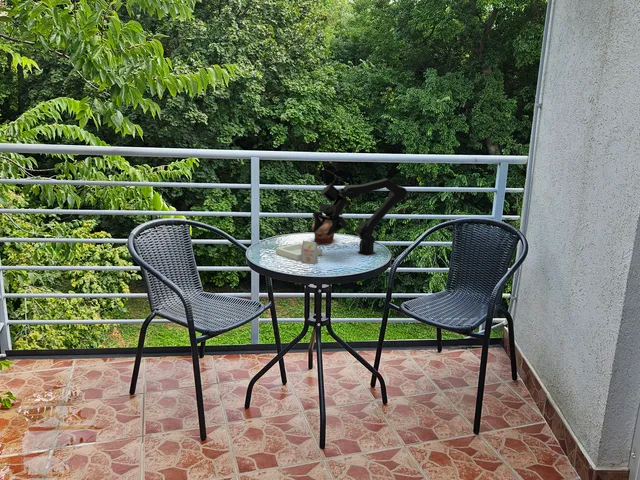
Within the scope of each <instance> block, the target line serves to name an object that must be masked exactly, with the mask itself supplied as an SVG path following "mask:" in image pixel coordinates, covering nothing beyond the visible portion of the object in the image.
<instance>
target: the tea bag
mask: <svg viewBox="0 0 640 480" xmlns="http://www.w3.org/2000/svg"><path fill="white" fill-rule="evenodd" d="M302 243H303V245H302V250H301V261H300V262H301V263H303V264H309V265H316V264H317V263H319V262H318V261H319V256H318V248H319V247H318V246H317V245H318V243H316V242H314V241H308V240H302Z"/></svg>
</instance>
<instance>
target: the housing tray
mask: <svg viewBox="0 0 640 480" xmlns="http://www.w3.org/2000/svg"><path fill="white" fill-rule="evenodd" d="M302 245H303V242H298V243H293V244H288V245H284V246H279V247H276V248H275V255H277V256H281V257H284V258H287V259H290V260H292V261H296V262H299V261H300V262H301V250H302ZM317 248H318V257H319V256H322V255H323V249H322V248H320V247H317Z"/></svg>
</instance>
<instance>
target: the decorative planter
mask: <svg viewBox="0 0 640 480" xmlns="http://www.w3.org/2000/svg"><path fill="white" fill-rule="evenodd" d="M323 215H324V216H325V214H323ZM313 219H314V220H313V224H312V225H311V230H312V231H313V229H314V225H315V218H314V217H313ZM331 226H332V222H331V221H327V220H325V222H323V225H322V226H321V227H320V228H319V229H318V230H317V231H316V232H313V233H314V239H313V242H316V243H317V244H321V245H329V244H332V243H333V241H334V237H335V233H336V232H334V233H333V234H331V235H329V236H327V233H328V231H329V229H330V227H331Z"/></svg>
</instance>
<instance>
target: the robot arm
mask: <svg viewBox="0 0 640 480" xmlns="http://www.w3.org/2000/svg"><path fill="white" fill-rule="evenodd" d="M381 189H387V190H388V191H389V193H388V196H387V198H386V200H385V201H384V202H383V203H382V204H381V205H380V206H379V208H377V210H376V211H375V212H374V213H373V214H372V215H371V217H370V218H369V219H368V220H366V221H364V220H361V221H360V223H359V224H358V225H357V226H356V227H357V228H356V229H355V234H356V235H357V236H358V237H359V246H358V247H359V248H358V249H359V251H357V253H358V254H361V255H365V256H370V255H372V254H373V255H374V254H376V251H374V246H375V245H374V243H375V241H376V238H375V237H374V236H373V235H372V234H373V233H374V231H375V228H376V227H377V225H378V224H379V223H380V222H381V221H382V219H383V218H384V217H385V216H386V215H387V214H388V213H389V211H391V210H392V208H393V207H394V206H395V205H396V204H398V203H400V202H401V201H403V200H404V199H406V197H407V196H408V190H407V189H406V187H403V186H401V185H397V184H395V183H394V182H392V181H391V180H390V179H389V178H382V179H379V180H375V181H370V182H367V183H363V184H350V185H349V184H348V185H345V186H344V187H343V188H339V189H337V188H336V187H335V186H334V185H333V184H332V183H329V184H328V185H327V186H326V187H324V188H323V189H322V190H321V192H320V193H321V195H322V196H323V197H324V198H326V200H327V201H329V202H332V204H331V203H330V204H326V203H320V206H319V208H318V210H319V211H317V210H316V211H314V212H313V213H312V216H313V219H314V218H315V225H314V229H313V230H312V232H313V233H314V232H316V231H317V230H318V229H319V228H320V227H321V226H322V225H323V222H325V220H327V221H331V222H332V226H331V227H330V229H329V231H328V233H327V236H329V235H331V234H333V233H334V232H335V233H336V232H338V231H340V230H343V229H346V228H347V226H348V222H347V221H346V219H345V218H344V217H343V214H344V213H343V211H344V209H345V208H346V207H350V206H352V202H351V200H353V199H357V198H358V197H360V196H361V195H363V194H366V193H369V192H374V191H378V190H381ZM324 215H325V216H324ZM335 233H334V234H335Z"/></svg>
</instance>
